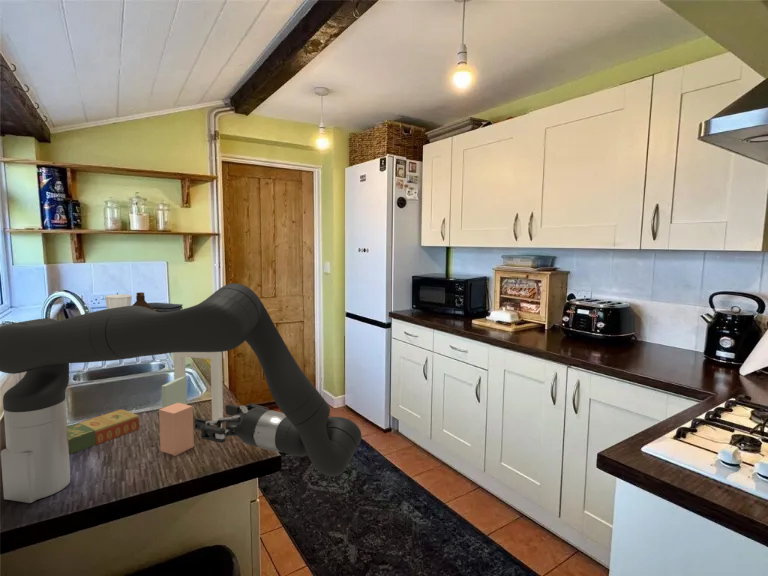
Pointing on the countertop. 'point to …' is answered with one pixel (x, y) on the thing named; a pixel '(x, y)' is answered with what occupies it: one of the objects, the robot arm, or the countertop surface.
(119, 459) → the countertop surface
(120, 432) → the carton
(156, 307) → the storage bin
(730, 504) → the countertop surface
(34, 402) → the robot arm
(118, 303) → the cup
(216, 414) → the door frame
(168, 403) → the door
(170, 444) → the block
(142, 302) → the olive oil
